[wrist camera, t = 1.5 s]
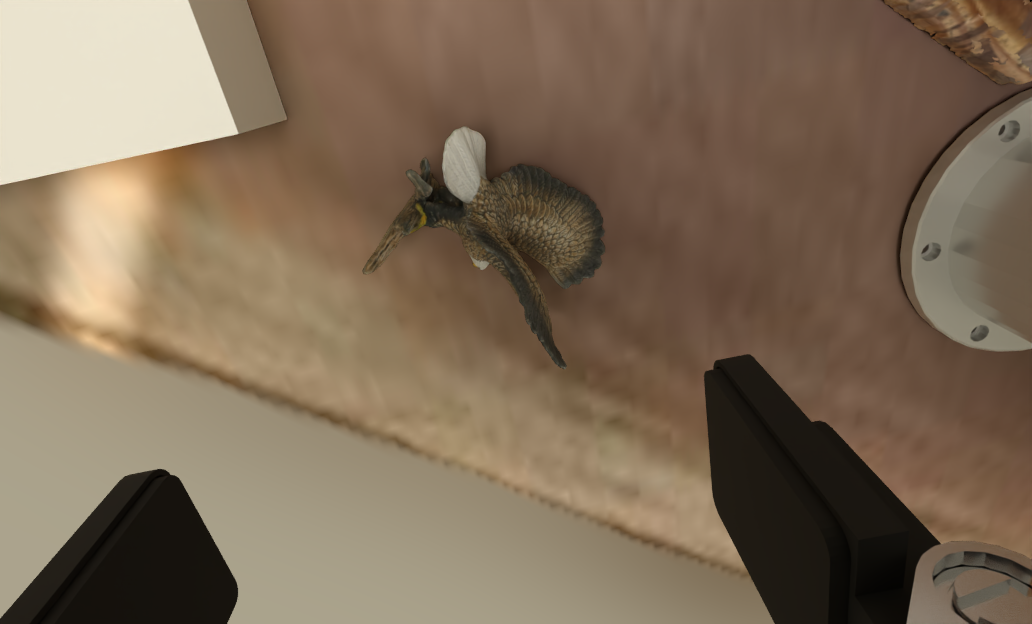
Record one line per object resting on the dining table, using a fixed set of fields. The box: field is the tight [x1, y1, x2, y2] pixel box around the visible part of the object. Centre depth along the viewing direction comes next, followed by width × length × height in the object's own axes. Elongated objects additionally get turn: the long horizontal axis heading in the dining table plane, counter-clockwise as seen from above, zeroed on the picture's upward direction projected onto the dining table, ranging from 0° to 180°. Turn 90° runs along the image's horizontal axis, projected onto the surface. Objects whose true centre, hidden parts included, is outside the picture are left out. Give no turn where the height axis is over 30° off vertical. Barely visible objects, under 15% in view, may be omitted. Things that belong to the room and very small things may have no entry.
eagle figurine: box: [363, 126, 605, 369], centre depth 23 cm, size 8×7×9 cm
